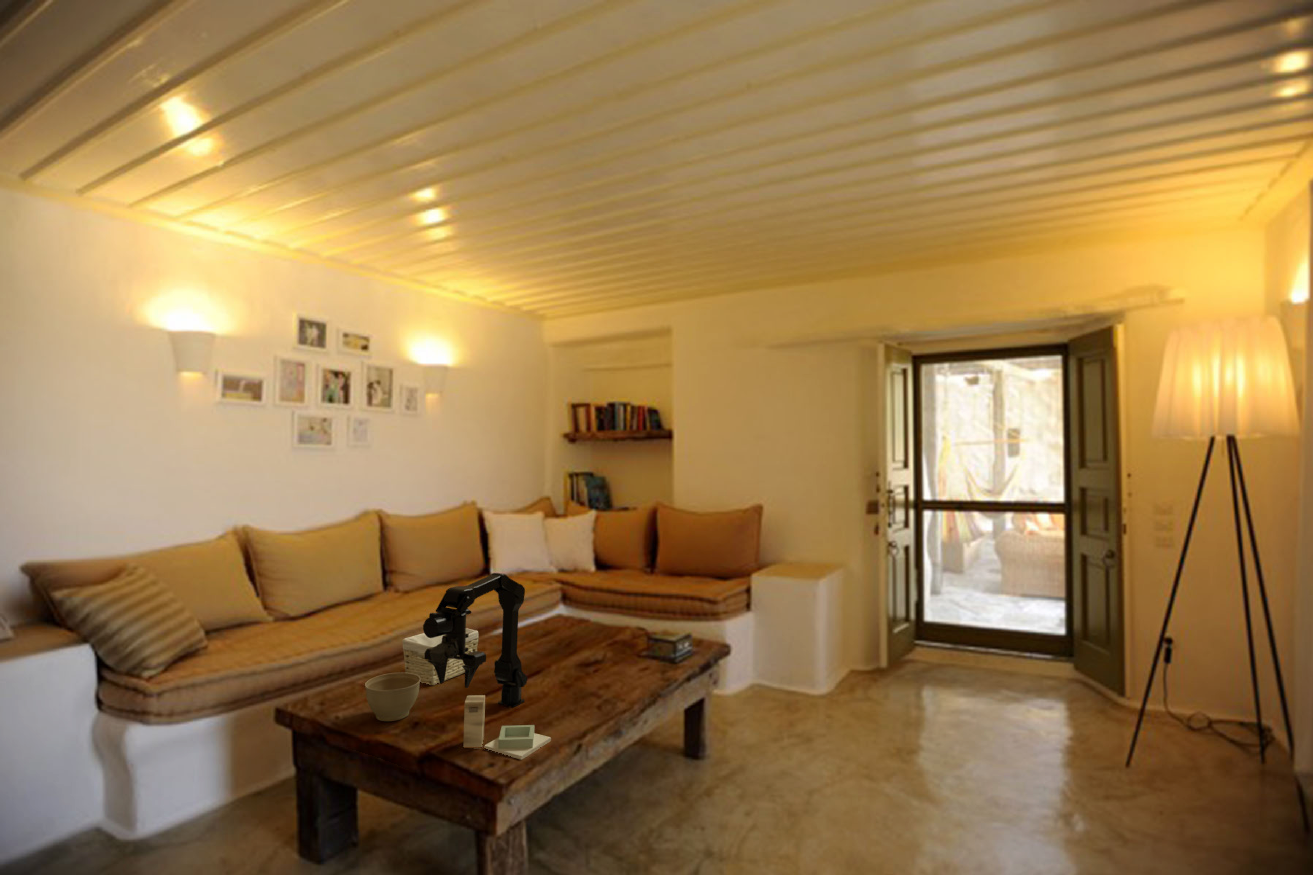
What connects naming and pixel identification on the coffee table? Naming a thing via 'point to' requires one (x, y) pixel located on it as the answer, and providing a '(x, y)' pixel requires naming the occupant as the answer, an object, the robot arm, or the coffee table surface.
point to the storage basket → (423, 668)
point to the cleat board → (519, 751)
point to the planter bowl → (392, 695)
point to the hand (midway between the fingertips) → (454, 685)
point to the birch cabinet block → (474, 721)
